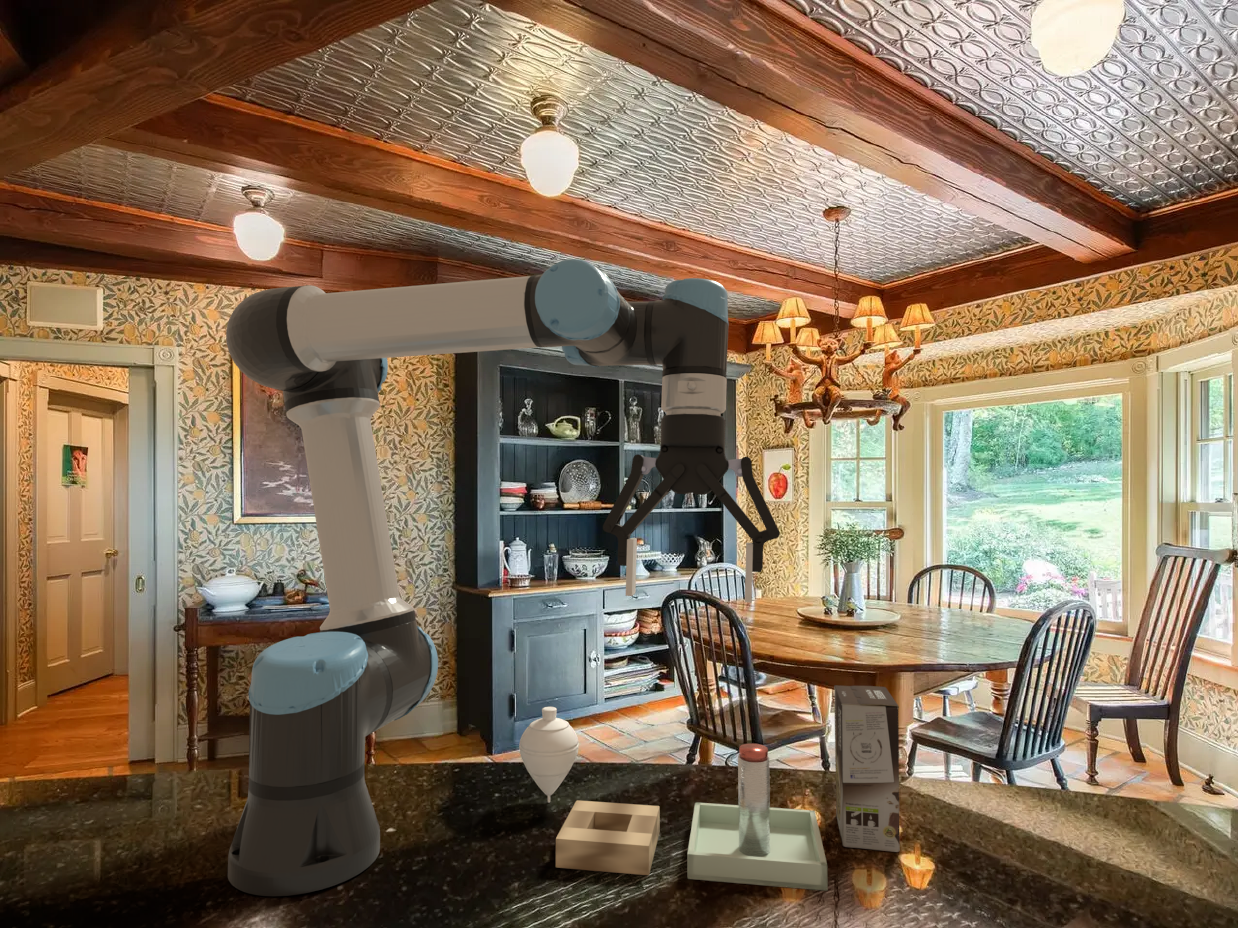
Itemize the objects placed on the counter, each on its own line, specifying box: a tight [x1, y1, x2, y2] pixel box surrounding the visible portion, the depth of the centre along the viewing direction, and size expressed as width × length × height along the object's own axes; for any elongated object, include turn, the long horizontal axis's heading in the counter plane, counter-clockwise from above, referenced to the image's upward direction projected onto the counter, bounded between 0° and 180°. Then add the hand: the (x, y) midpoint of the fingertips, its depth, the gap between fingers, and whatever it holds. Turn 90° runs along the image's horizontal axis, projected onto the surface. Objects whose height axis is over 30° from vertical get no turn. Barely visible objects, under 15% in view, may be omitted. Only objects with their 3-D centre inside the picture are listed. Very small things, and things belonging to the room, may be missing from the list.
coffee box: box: [833, 684, 901, 853], centre depth 87 cm, size 9×6×16 cm
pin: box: [737, 743, 771, 857], centre depth 82 cm, size 3×3×11 cm
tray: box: [686, 801, 829, 892], centre depth 81 cm, size 14×13×2 cm
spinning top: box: [518, 706, 580, 803], centre depth 95 cm, size 8×8×12 cm
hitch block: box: [555, 800, 661, 876], centre depth 83 cm, size 10×10×3 cm
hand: (688, 597), depth 85 cm, fingers open, 13 cm apart
